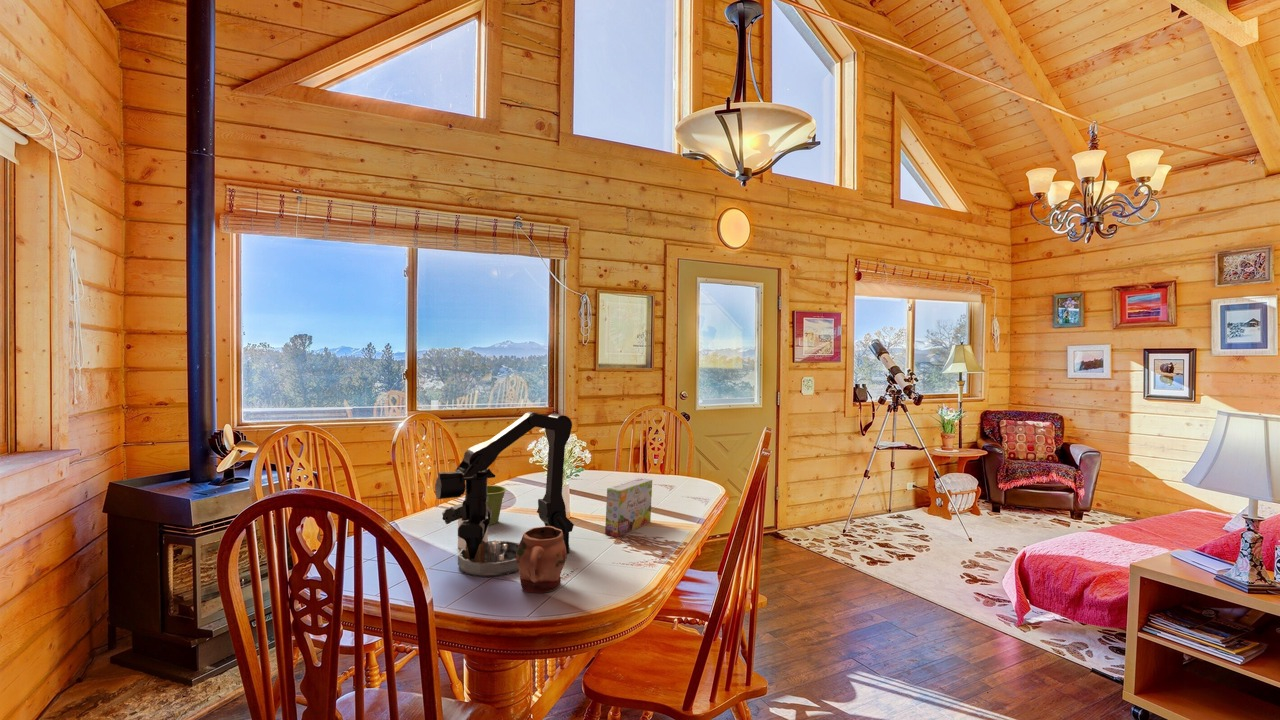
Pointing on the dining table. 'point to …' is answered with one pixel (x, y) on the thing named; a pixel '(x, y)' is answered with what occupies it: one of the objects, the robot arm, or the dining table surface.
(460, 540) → the jar
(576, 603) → the dining table surface
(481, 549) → the bronze pinion
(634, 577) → the dining table surface
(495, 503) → the plant pot
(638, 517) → the snack box
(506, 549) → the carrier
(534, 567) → the terracotta mug
